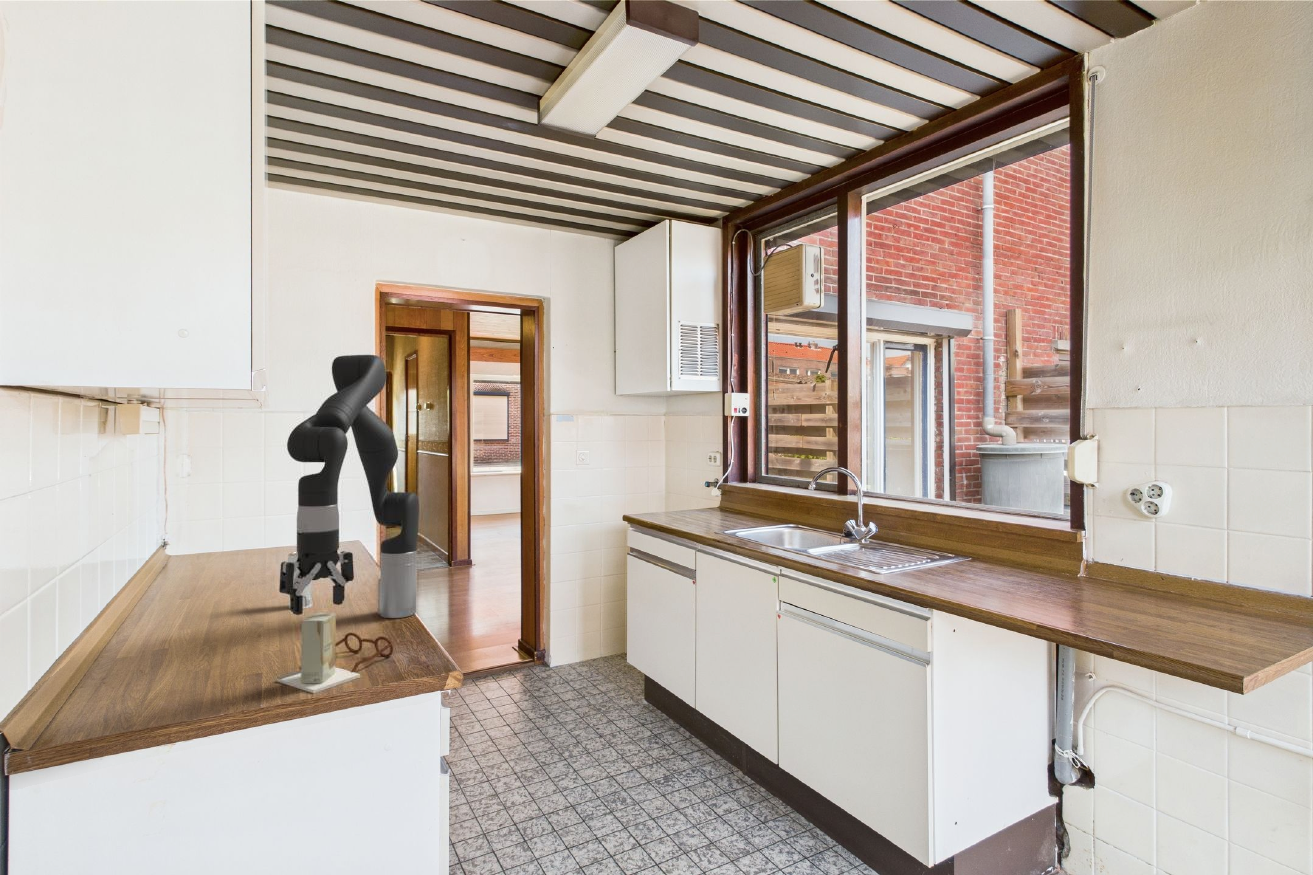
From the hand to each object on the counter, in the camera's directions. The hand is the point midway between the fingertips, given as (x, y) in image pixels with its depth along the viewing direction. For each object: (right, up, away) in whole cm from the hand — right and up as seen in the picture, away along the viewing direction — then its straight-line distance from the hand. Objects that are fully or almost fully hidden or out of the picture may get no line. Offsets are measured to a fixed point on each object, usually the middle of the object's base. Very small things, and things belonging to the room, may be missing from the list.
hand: (318, 608), depth 134 cm
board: (0, -14, +1) cm, 14 cm away
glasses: (+1, -15, +11) cm, 19 cm away
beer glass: (-34, -14, +58) cm, 68 cm away
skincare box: (0, -14, 0) cm, 14 cm away
